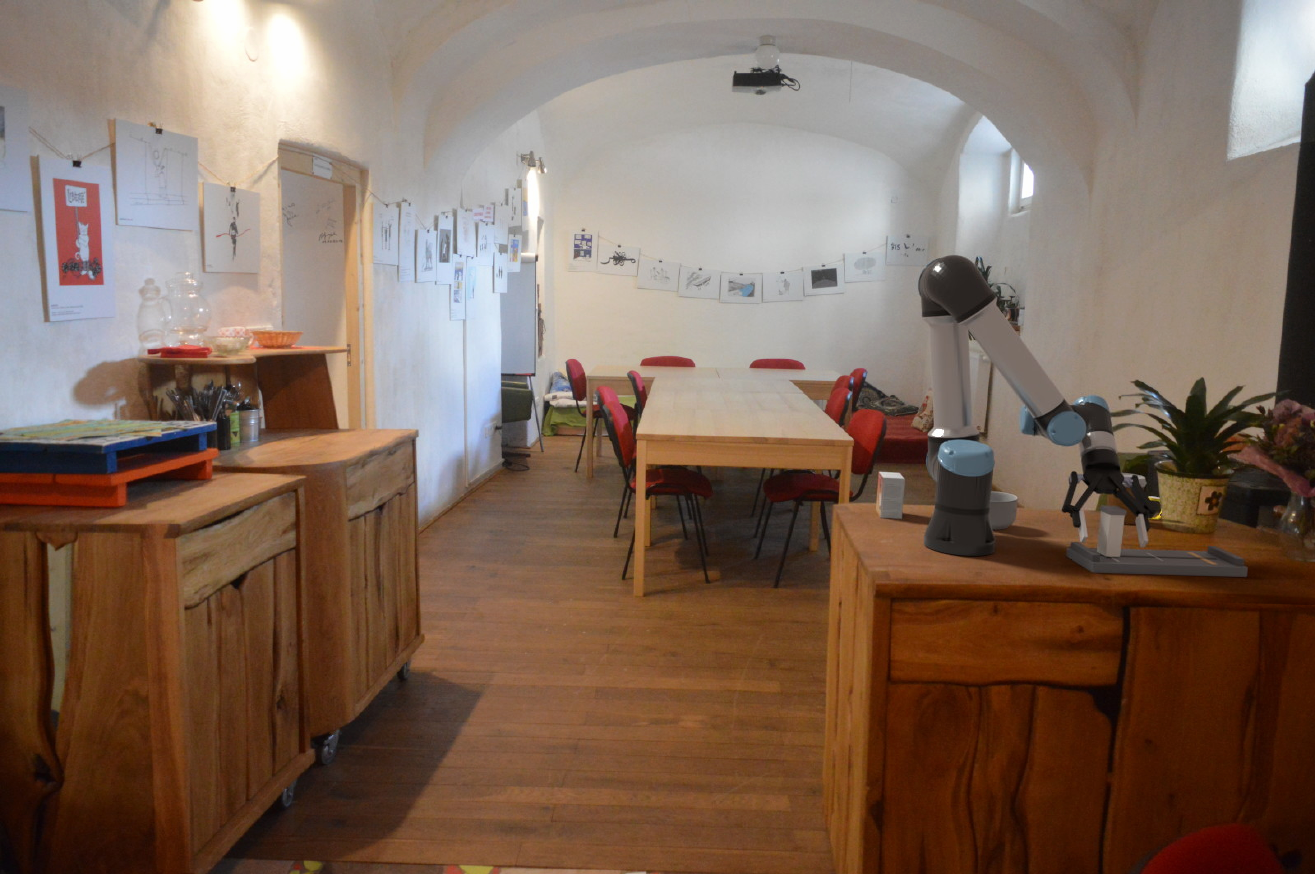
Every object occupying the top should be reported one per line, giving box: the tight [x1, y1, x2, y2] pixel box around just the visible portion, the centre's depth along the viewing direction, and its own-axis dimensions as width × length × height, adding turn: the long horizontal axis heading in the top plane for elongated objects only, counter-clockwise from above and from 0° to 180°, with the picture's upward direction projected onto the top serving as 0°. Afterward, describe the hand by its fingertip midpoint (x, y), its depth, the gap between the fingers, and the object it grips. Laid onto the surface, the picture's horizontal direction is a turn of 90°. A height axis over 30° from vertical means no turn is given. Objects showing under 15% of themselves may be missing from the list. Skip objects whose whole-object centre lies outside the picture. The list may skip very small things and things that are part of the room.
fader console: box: [1065, 541, 1249, 578], centre depth 194 cm, size 32×12×4 cm, turn 90°
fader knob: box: [1096, 504, 1127, 557], centre depth 193 cm, size 3×4×10 cm
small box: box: [875, 471, 906, 520], centre depth 233 cm, size 8×6×10 cm
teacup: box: [989, 490, 1019, 531], centre depth 226 cm, size 14×11×8 cm
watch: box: [1148, 495, 1162, 521], centre depth 238 cm, size 6×3×6 cm, turn 89°
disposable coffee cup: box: [1106, 472, 1148, 525], centre depth 234 cm, size 10×10×12 cm
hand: (1114, 542), depth 190 cm, fingers open, 11 cm apart
